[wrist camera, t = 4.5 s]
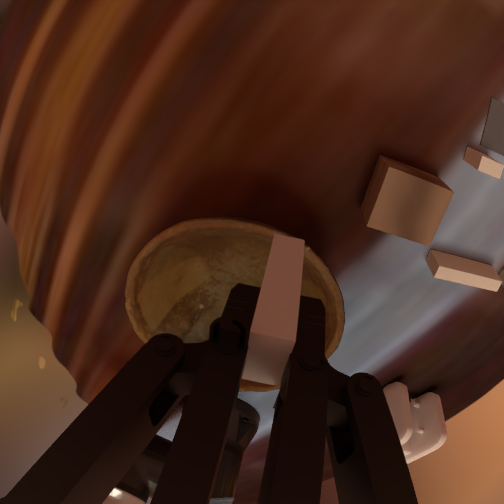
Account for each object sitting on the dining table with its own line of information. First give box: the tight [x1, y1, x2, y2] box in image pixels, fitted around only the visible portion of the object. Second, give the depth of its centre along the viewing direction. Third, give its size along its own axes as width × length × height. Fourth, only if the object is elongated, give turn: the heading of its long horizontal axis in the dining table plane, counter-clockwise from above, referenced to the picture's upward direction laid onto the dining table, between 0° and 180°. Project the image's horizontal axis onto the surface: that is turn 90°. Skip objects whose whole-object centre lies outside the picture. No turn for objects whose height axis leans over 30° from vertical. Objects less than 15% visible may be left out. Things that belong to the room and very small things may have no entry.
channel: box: [426, 147, 504, 292], centre depth 28 cm, size 10×14×4 cm
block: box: [361, 155, 454, 246], centre depth 28 cm, size 7×6×4 cm
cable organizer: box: [383, 382, 447, 464], centre depth 43 cm, size 15×11×12 cm
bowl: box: [125, 216, 345, 392], centre depth 34 cm, size 22×23×10 cm
